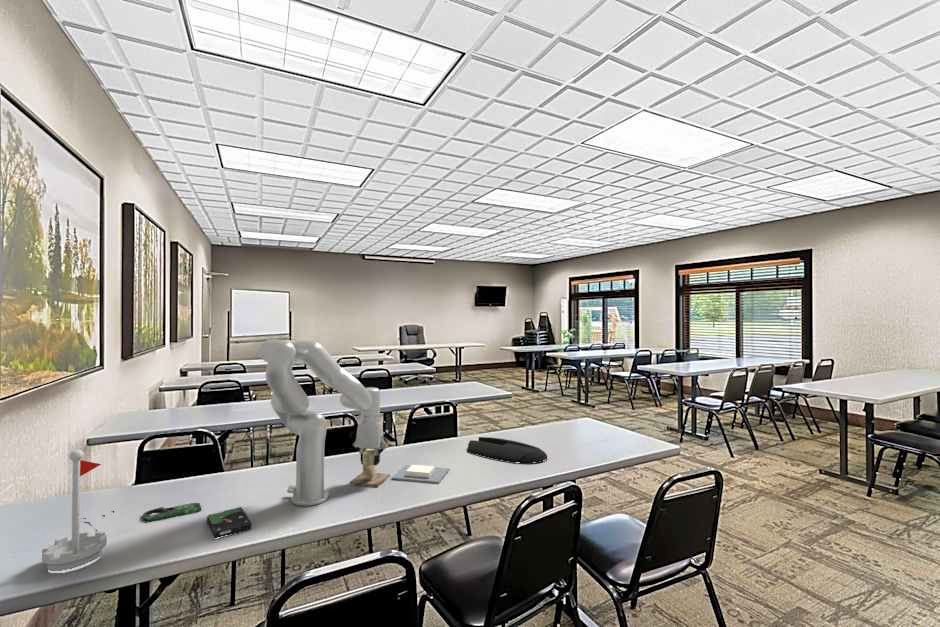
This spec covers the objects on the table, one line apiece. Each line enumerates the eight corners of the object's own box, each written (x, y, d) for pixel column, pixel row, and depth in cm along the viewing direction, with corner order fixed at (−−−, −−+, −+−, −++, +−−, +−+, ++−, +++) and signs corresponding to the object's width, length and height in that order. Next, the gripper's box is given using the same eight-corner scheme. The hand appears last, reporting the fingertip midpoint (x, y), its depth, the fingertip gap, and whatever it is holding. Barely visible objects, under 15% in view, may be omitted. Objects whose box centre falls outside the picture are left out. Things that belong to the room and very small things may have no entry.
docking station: (532, 469, 195) (532, 458, 195) (458, 452, 219) (459, 442, 219) (557, 455, 215) (557, 445, 215) (487, 441, 239) (487, 432, 239)
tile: (412, 469, 190) (405, 476, 183) (412, 464, 190) (405, 470, 183) (434, 471, 188) (429, 478, 180) (434, 466, 188) (429, 472, 180)
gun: (200, 498, 159) (201, 508, 151) (200, 502, 159) (201, 513, 150) (143, 509, 150) (141, 520, 142) (143, 513, 150) (141, 525, 142)
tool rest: (349, 484, 175) (349, 482, 175) (363, 474, 187) (363, 471, 187) (377, 487, 173) (377, 484, 173) (389, 476, 184) (389, 474, 184)
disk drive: (252, 531, 138) (241, 514, 150) (252, 522, 138) (241, 505, 150) (214, 542, 132) (205, 523, 143) (214, 532, 132) (205, 514, 143)
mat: (391, 479, 181) (391, 477, 181) (405, 466, 197) (405, 464, 197) (438, 483, 177) (438, 481, 177) (449, 470, 192) (449, 468, 192)
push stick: (363, 479, 178) (362, 451, 179) (367, 475, 182) (367, 448, 182) (372, 480, 177) (371, 452, 178) (376, 476, 181) (376, 449, 181)
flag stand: (44, 582, 110) (45, 460, 111) (39, 562, 119) (40, 450, 119) (110, 561, 120) (112, 449, 120) (101, 544, 129) (103, 440, 129)
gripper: (346, 419, 178) (346, 465, 178) (386, 422, 174) (386, 468, 174) (355, 415, 185) (355, 459, 185) (393, 417, 182) (393, 462, 182)
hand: (370, 463), depth 180 cm, fingers open, 5 cm apart
